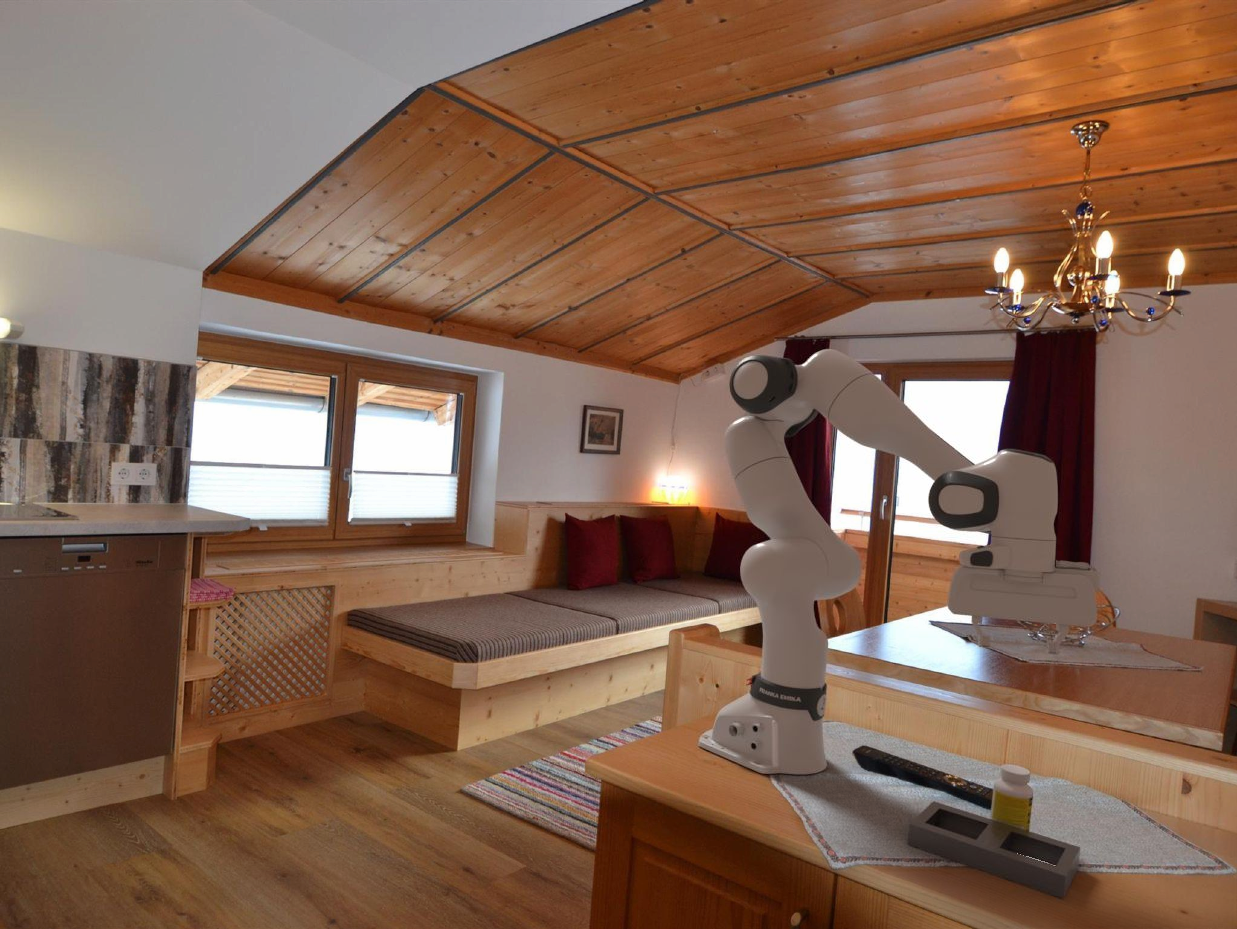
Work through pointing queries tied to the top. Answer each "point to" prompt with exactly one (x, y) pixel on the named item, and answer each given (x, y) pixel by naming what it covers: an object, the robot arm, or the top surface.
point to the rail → (996, 848)
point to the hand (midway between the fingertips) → (1017, 650)
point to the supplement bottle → (1012, 797)
